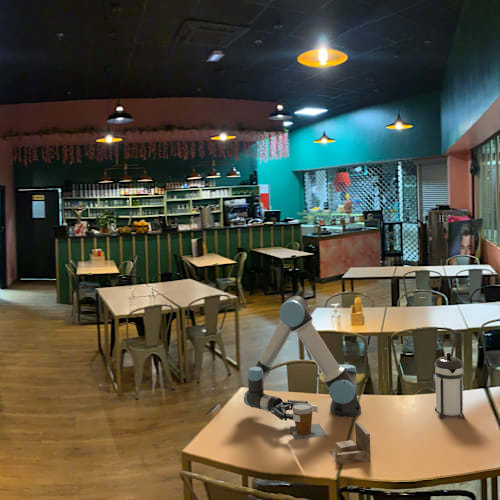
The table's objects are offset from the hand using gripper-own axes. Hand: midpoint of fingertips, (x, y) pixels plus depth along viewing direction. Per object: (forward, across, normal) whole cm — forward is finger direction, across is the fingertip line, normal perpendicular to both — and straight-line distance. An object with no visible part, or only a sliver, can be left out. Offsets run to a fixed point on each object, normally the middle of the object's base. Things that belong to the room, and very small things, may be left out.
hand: (308, 414), depth 247 cm
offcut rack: (+27, +10, -9) cm, 30 cm away
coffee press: (+41, -57, -9) cm, 71 cm away
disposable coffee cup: (-1, +2, -8) cm, 9 cm away
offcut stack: (+26, +11, -8) cm, 30 cm away
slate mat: (-1, 0, -9) cm, 9 cm away
